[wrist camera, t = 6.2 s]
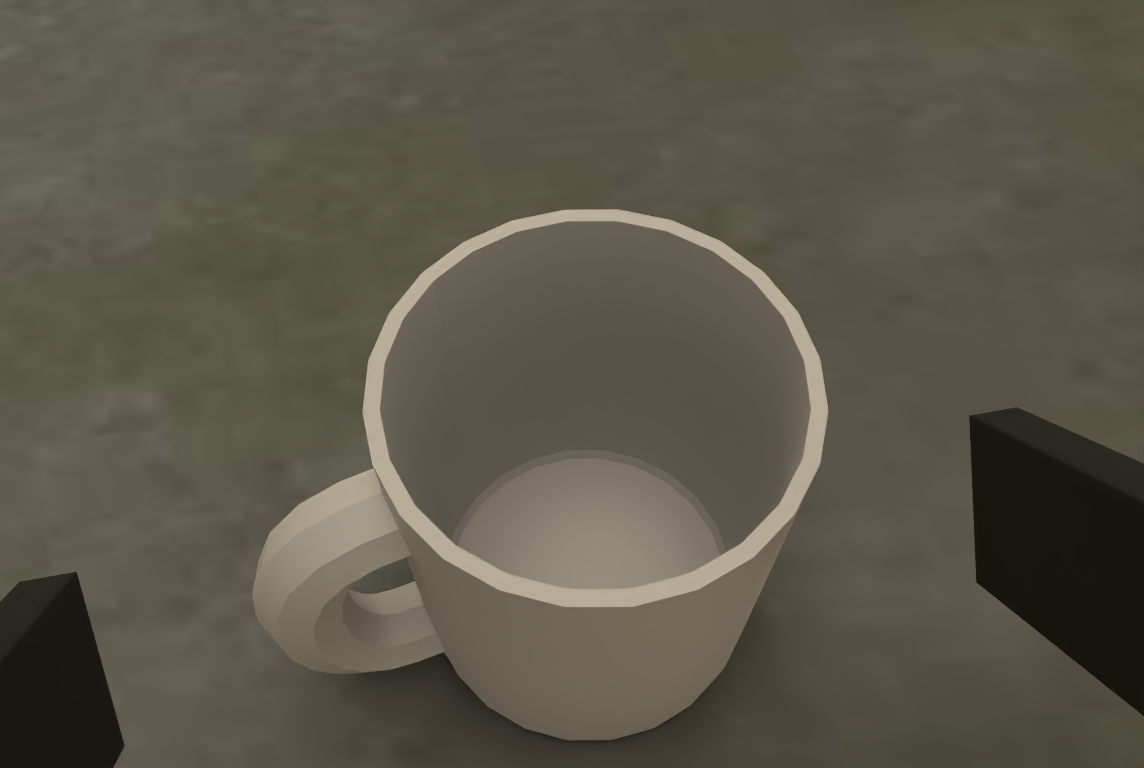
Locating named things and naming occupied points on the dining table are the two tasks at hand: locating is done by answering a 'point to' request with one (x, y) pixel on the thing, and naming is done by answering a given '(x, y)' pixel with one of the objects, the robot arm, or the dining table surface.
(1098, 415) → the dining table surface
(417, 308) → the cup
